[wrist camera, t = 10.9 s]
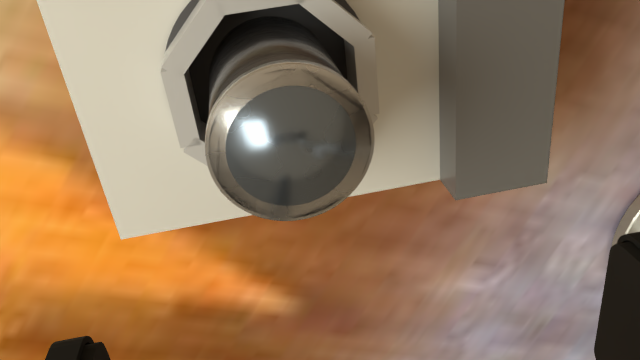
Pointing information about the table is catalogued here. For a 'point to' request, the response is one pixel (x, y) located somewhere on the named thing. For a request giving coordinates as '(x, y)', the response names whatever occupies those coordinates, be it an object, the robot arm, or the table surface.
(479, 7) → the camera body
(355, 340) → the table surface
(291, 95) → the silver grey short cylinder
